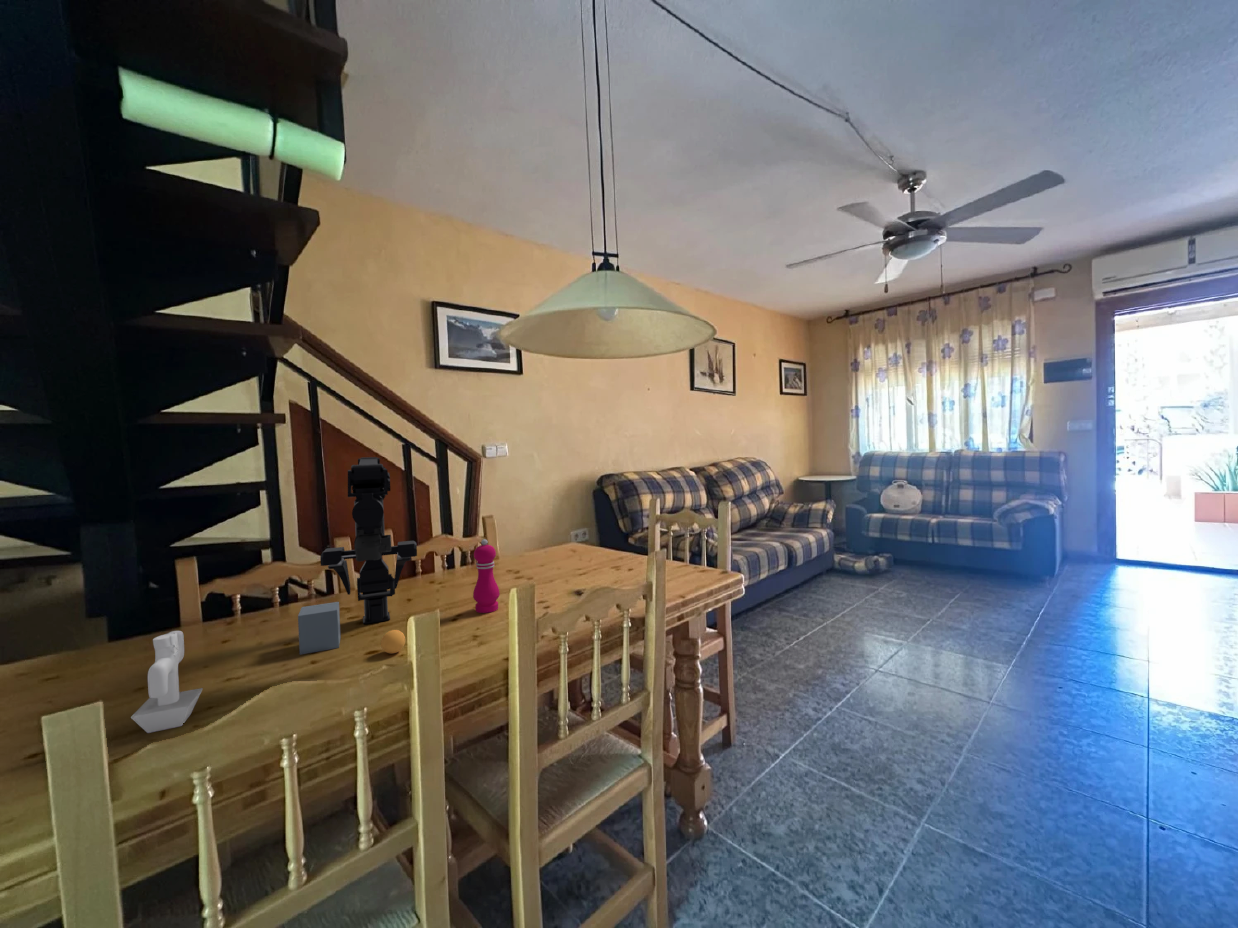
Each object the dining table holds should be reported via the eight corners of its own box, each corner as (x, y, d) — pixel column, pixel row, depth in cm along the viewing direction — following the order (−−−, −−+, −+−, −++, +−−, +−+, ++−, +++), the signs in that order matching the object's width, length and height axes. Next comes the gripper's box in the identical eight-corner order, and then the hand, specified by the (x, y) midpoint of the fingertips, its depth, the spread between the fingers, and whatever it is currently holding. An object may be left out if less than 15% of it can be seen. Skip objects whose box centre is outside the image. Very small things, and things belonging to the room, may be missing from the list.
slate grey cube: (303, 643, 118) (301, 606, 118) (340, 637, 122) (338, 601, 122) (299, 654, 111) (297, 615, 111) (338, 647, 115) (337, 610, 115)
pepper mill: (493, 614, 136) (490, 541, 135) (468, 613, 137) (466, 541, 137) (504, 606, 143) (501, 537, 142) (481, 605, 144) (478, 537, 144)
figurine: (128, 743, 78) (123, 648, 77) (153, 715, 86) (149, 630, 86) (187, 731, 81) (182, 640, 80) (206, 705, 89) (201, 622, 89)
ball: (381, 651, 112) (380, 629, 112) (405, 646, 114) (404, 625, 114) (381, 658, 108) (380, 636, 107) (406, 654, 110) (405, 631, 110)
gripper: (314, 530, 98) (317, 608, 98) (416, 522, 105) (418, 594, 106) (323, 522, 108) (326, 593, 109) (415, 516, 116) (417, 582, 116)
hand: (372, 591), depth 110 cm, fingers open, 9 cm apart
